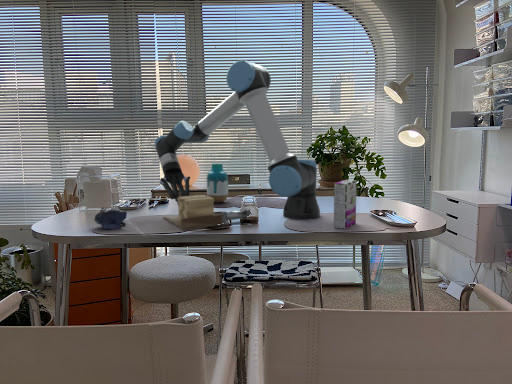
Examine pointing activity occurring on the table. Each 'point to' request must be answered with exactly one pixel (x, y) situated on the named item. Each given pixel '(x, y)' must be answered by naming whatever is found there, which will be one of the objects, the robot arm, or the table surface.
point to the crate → (195, 206)
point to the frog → (111, 218)
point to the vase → (217, 183)
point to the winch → (234, 215)
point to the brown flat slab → (195, 221)
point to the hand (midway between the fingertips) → (185, 211)
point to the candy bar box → (344, 203)
